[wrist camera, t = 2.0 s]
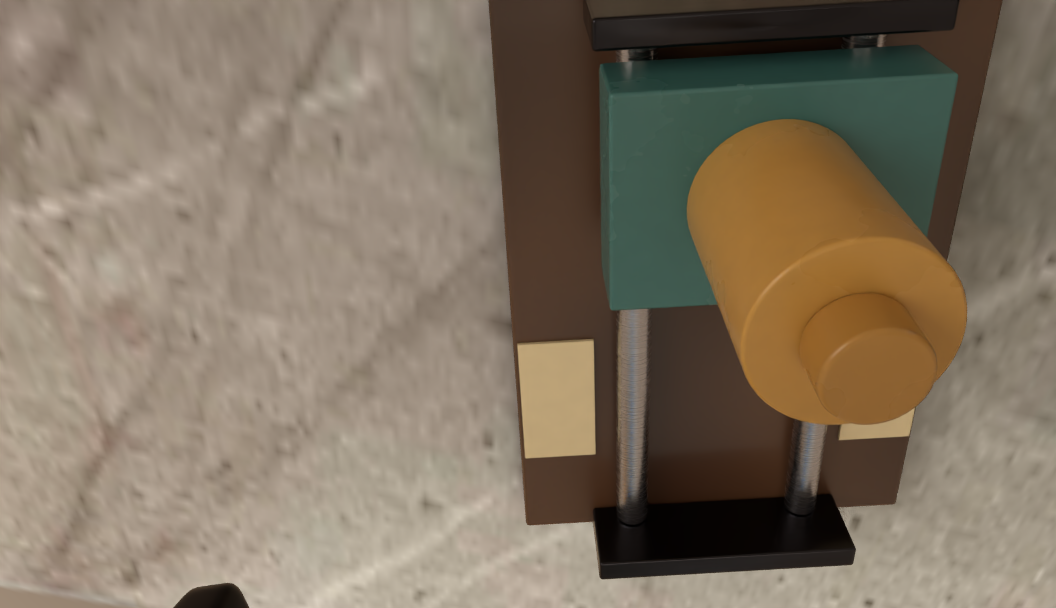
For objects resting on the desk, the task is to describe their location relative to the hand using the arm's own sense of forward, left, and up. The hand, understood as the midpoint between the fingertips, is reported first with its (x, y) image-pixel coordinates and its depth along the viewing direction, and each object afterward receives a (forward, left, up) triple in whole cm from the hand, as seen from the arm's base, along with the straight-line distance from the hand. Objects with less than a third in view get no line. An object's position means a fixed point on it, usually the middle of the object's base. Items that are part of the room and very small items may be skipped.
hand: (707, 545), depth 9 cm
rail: (-3, +5, -13) cm, 14 cm away
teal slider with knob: (-3, +1, -11) cm, 11 cm away
